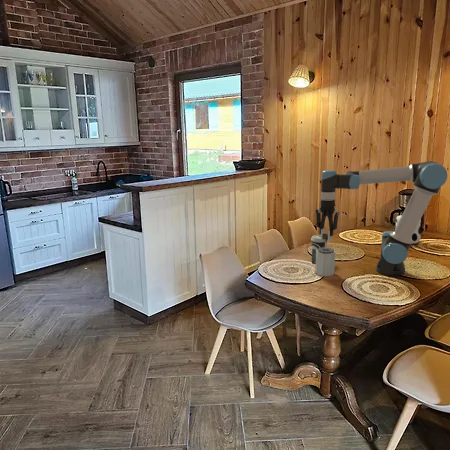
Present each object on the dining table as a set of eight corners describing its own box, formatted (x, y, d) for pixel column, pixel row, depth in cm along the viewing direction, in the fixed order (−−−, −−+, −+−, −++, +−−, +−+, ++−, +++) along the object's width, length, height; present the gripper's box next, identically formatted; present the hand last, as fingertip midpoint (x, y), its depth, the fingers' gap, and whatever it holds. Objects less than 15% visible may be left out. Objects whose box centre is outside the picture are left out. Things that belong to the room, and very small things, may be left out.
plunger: (333, 264, 217) (334, 234, 213) (327, 267, 212) (328, 236, 208) (322, 261, 222) (323, 232, 217) (316, 264, 217) (317, 234, 212)
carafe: (336, 272, 218) (337, 249, 215) (328, 277, 211) (329, 253, 208) (316, 267, 227) (317, 245, 224) (307, 272, 220) (308, 249, 217)
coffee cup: (326, 262, 234) (327, 239, 230) (310, 262, 236) (310, 238, 232) (325, 257, 243) (326, 234, 239) (310, 257, 245) (310, 234, 241)
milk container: (390, 243, 268) (392, 218, 264) (395, 237, 282) (397, 213, 278) (417, 247, 259) (420, 221, 254) (421, 241, 272) (424, 216, 268)
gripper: (345, 199, 205) (343, 241, 211) (317, 196, 216) (316, 236, 222) (338, 201, 200) (336, 245, 205) (310, 198, 211) (309, 239, 216)
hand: (326, 240), depth 213 cm, fingers closed on plunger, 4 cm apart
